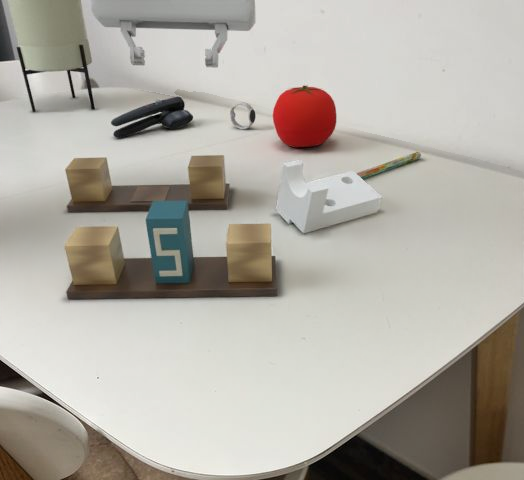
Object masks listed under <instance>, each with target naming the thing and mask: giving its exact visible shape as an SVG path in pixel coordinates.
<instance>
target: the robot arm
mask: <svg viewBox="0 0 524 480" xmlns="http://www.w3.org/2000/svg"><path fill="white" fill-rule="evenodd" d="M90 8H91V9H90V10H91V12H92V15H93V16H94V18H95V19H96V20H97V21H98V22H99V24H101V25H102V26H103V27H105V28H120V32H121V34H122V37H123V38H124V40H125V42H126V44H127V45H128V47H129V60H130V64H131V65H132V66H145V64H146V60H145V58H146V52H145V50H144V49H143V47H142V46H137V45H136V43H135V41H134V40H133V38H135V37H137V29H157V30H158V29H162V30H191V31H192V30H195V31H196V30H197V31H214V34H215V38H216V39H215V41H214V43H213V45H212V47H211V48H205V49H204V50H205V51H204V52H205V53H204V56H205V58H204V64H205V66H206V68H219V54H220V53H221V51H222V50H223V48H224V46H225V44H226V43H227V41H228V31H231V32H232V31H234V32H249V31H251V30H252V29H253V27H254V26H255V25H256V21H257V20H256V19H257V17H256V15H257V14H256V0H90Z"/></svg>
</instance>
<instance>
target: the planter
mask: <svg viewBox="0 0 524 480" xmlns="http://www.w3.org/2000/svg"><path fill="white" fill-rule="evenodd" d="M6 2H7V5H8V6H7V7H8V9H9V14H10V18H11V22H12V26H13V29H14V30H13V31H14V33H15V37H16V42H17V46H16V53H17V56H18V60H19V63H20V67H21V71H22V76H23V79H24V83H25V88H26V92H27V96H28V99H29V103H30V107H31V111H32V113H35V112H36V106H35V102H34V98H33V96H32V95H33V94H32V92H31V91H32V90H31V86H30V82H29V79H28V75H33V74H40V73H50V72H65V71H66V74H67V77H68V84H69V89H70V92H71V98H72V99H76V93H75V88H74V83H73V78H72V73H71V72H75V73H83V74H84V78H85V83H86V88H87V93H88V98H89V103H90V109H91V110H96V107H95V106H96V105H95V101H94V96H93V91H92V86H91V80H90V74H89V68H88V66H89V65H91V64H92V62H93V58H92V53H91V48H90V42H89V37H88V32H87V25H86V20H85V14H84V9H83V5H82V0H6Z"/></svg>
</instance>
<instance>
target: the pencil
mask: <svg viewBox="0 0 524 480" xmlns="http://www.w3.org/2000/svg"><path fill="white" fill-rule="evenodd" d="M421 158H422V154H421V152H420V151H416V152H413V153H410V154H407V155H404V156H402V157H399V158H396V159H393V160H390V161H387V162H385V163H382V164H379V165H377V166H373V167H371V168H367V169H365V170H361V171H359V172H355V173H356V174H357V175H358V176H360V177H361V178H362V179H363V180H364V179H366V178H368V177H371V176H374V175H377V174H379V173H382V172H385V171H388V170H391V169H394V168H396V167H400V166H402V165H404V164H407V163H411V162H414V161H417V160H419V159H421Z"/></svg>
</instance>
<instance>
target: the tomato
mask: <svg viewBox="0 0 524 480" xmlns="http://www.w3.org/2000/svg"><path fill="white" fill-rule="evenodd" d="M272 121H273V125H274V129H275V131H276V135H277V136H278V138H279V140H280V141H281V142H282V143H283V144H285V145H286V146H289V147H293V148H310V147H316V146H320V145H322V144H324V143H325V142H326V141H328V140H329V139H330V137H332V135H333V134H334V131H335V130H336V126H337V107H336V104H335V101H334V99H333V98H332V96H331V94H329V92H327V91H326V90H324V89H322V88H319V87H315V86H308V84H307V85H305V84H304V85H302V86H299V87H291V88H288V89H286V90H285V91H282V93H281V94H280V95H279V96H278V98H277V100H276V102H275V104H274V107H273V110H272Z"/></svg>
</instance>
